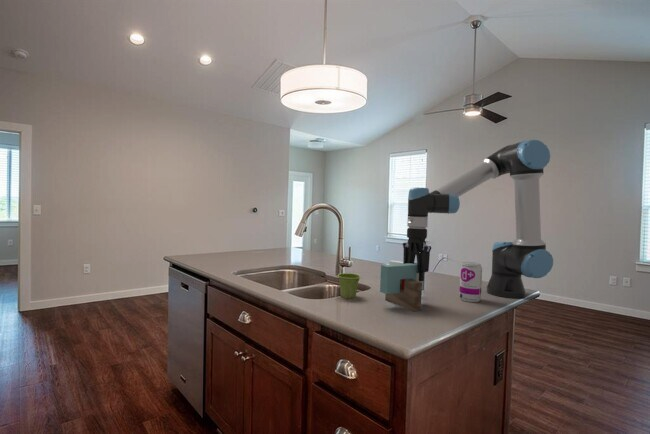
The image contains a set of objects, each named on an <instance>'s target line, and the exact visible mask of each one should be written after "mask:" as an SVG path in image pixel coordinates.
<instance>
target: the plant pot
mask: <svg viewBox="0 0 650 434" xmlns="http://www.w3.org/2000/svg"><path fill="white" fill-rule="evenodd" d="M361 276H362V275H361V274H356V273H351V272H350V273H349V272H348V273H347V272H346V273H339V274H337V277H338V280H339V288H340V297H342V298H343V299H345V298H346V299H351V298H353V299H354V298H356V297H357V290H358V285H359V281H360V278H361Z"/></svg>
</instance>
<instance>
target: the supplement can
mask: <svg viewBox="0 0 650 434" xmlns="http://www.w3.org/2000/svg"><path fill="white" fill-rule="evenodd" d="M482 277H483V267H482V265H481V263H480V262H479V263H478V262H472V261H463V262H462V263H461V264H460V268H459V291H458V292H459V294H458V295H459V297H458V298H460V300H461V301H464V302H469V303H478V302H480V301H482V282H483V281H482V279H483V278H482Z"/></svg>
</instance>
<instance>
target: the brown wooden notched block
mask: <svg viewBox="0 0 650 434" xmlns="http://www.w3.org/2000/svg"><path fill="white" fill-rule="evenodd" d="M384 294H385V293H384ZM422 297H423V290H422V282H419V281H415V280H405V281H404V290H402V279H400V293H394V294H385V297H384V298H385V301H387V302H389V303H392V304H394V305H396V306H399V307H401V308H404V309H406V310H409V311H411V312H417V311H421V310H422V304H423V303H422V301H423V300H422Z"/></svg>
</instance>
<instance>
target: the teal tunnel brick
mask: <svg viewBox="0 0 650 434" xmlns="http://www.w3.org/2000/svg"><path fill="white" fill-rule="evenodd" d="M417 271H418V266H417V262H414V263H406V264H380V281H379V282H380V284H379V292H380V293H383V294H394V293H400V279H406V280H415V281H416V273H417ZM425 277H426V272H425V273H424V281H423V288H422V291H425V282H426V281H425Z"/></svg>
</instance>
